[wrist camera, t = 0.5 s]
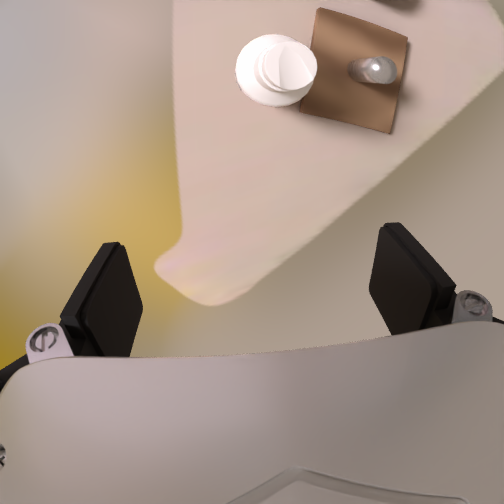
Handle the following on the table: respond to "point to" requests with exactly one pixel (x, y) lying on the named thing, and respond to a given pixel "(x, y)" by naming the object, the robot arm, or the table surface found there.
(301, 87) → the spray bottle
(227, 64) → the table surface
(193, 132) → the table surface
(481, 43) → the table surface
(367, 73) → the steel shaft
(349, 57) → the walnut base
